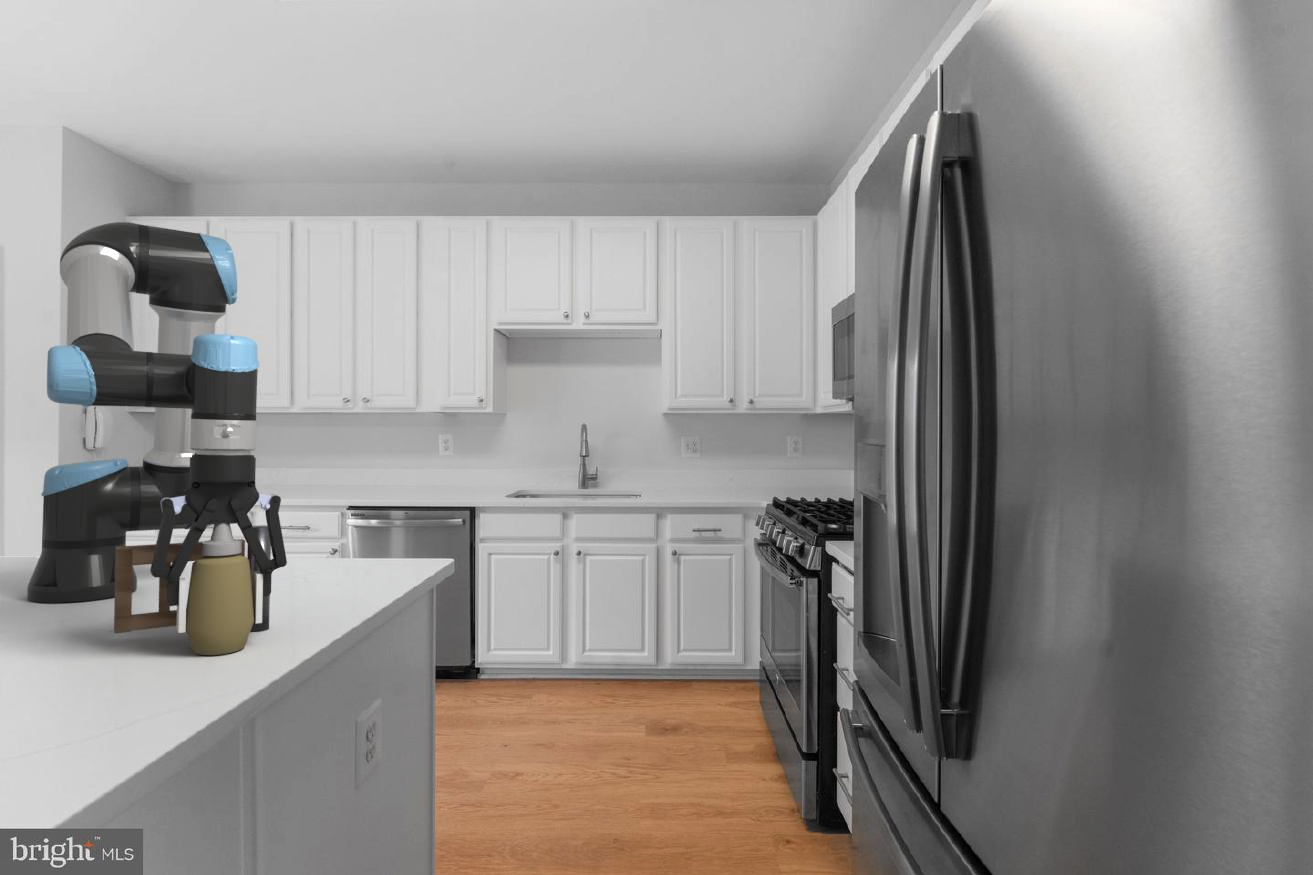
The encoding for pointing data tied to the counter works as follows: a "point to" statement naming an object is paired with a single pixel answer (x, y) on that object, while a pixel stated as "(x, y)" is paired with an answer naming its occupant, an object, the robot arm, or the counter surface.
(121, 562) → the gate
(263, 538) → the gate post
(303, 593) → the counter surface
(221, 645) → the squeeze bottle
